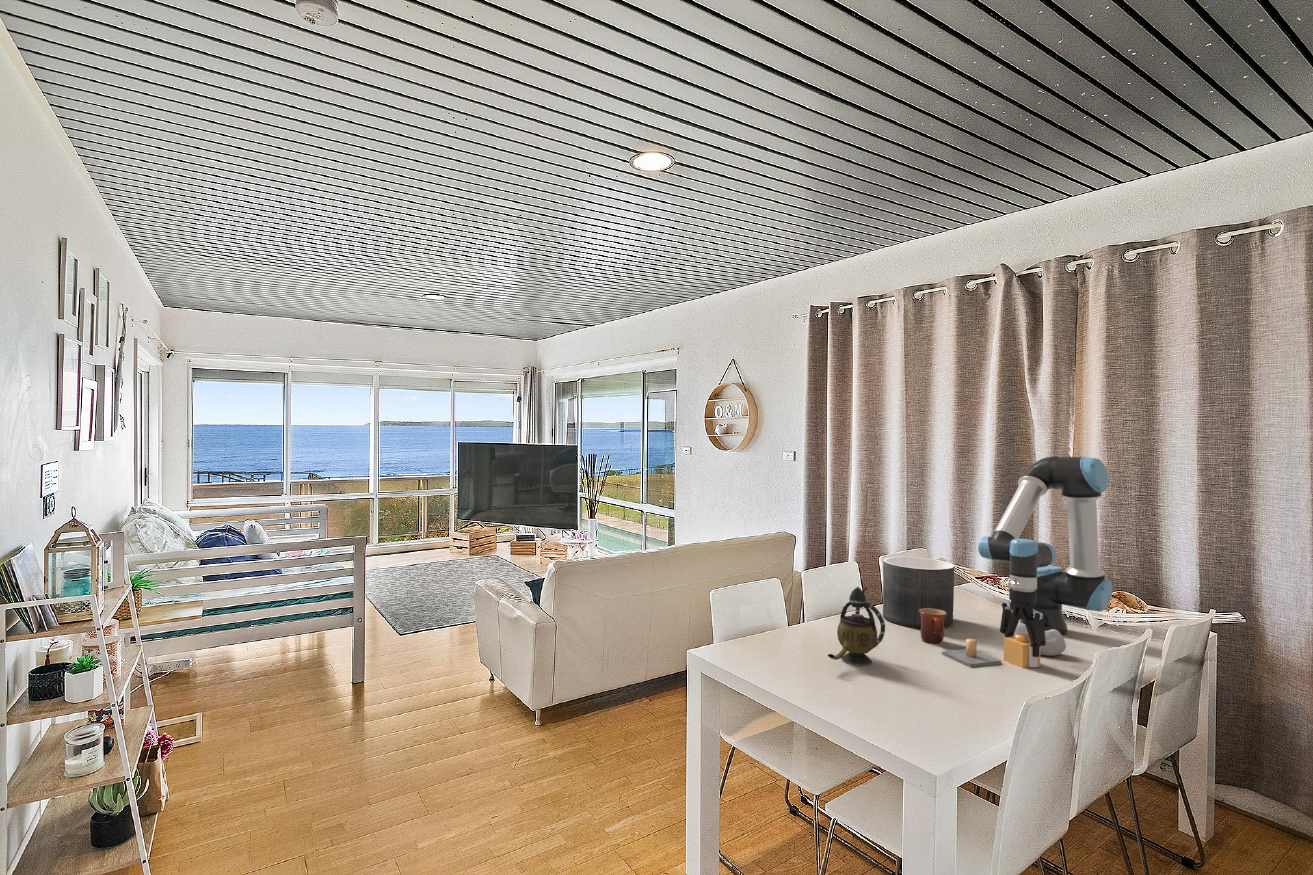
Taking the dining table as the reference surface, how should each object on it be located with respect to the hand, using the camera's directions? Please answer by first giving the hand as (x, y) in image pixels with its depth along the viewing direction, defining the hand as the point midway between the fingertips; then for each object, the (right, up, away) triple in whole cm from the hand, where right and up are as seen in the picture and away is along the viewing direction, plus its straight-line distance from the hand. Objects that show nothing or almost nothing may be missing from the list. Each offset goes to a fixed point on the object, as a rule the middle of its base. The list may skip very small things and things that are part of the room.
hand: (1021, 661), depth 202 cm
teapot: (-54, 0, -3) cm, 54 cm away
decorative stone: (+11, -1, +12) cm, 16 cm away
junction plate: (-14, 0, +3) cm, 15 cm away
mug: (-20, 0, +19) cm, 27 cm away
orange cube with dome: (0, 0, 0) cm, 0 cm away
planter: (-14, 0, +47) cm, 49 cm away
